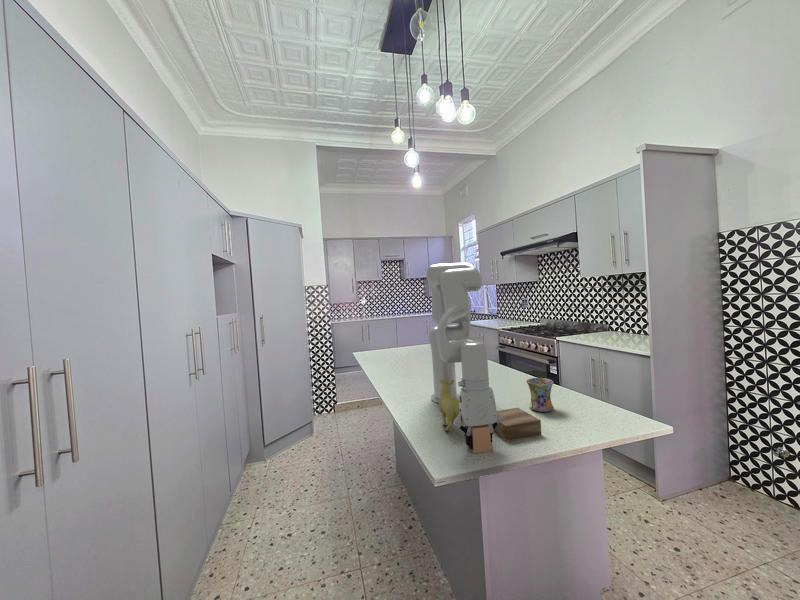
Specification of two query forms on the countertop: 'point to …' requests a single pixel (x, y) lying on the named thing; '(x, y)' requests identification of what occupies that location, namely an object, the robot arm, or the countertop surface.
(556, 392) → the countertop surface
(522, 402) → the countertop surface
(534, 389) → the mug
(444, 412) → the toy
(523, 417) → the walnut box
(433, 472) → the countertop surface
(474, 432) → the terracotta block
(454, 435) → the countertop surface
